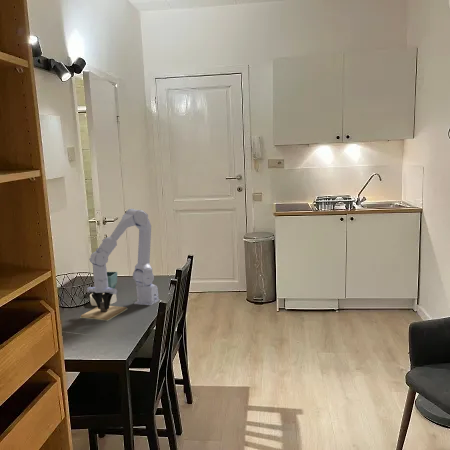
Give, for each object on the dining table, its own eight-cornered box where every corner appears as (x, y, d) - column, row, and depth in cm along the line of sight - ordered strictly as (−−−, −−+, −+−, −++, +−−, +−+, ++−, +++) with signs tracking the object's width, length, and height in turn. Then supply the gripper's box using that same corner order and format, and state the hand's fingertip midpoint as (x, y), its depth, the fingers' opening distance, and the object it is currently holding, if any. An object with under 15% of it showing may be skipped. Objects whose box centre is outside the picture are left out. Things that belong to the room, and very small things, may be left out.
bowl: (121, 299, 230) (120, 291, 229) (106, 307, 219) (105, 298, 218) (101, 297, 234) (100, 289, 234) (85, 305, 224) (84, 297, 223)
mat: (128, 309, 215) (128, 308, 215) (108, 321, 201) (108, 320, 201) (100, 306, 220) (100, 306, 220) (79, 318, 207) (79, 317, 207)
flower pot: (112, 293, 241) (110, 276, 239) (96, 293, 242) (94, 276, 241) (119, 288, 249) (117, 271, 248) (103, 288, 251) (102, 271, 249)
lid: (126, 308, 214) (125, 298, 214) (107, 319, 202) (106, 309, 201) (101, 306, 220) (99, 296, 219) (81, 317, 207) (79, 306, 206)
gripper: (81, 280, 207) (84, 310, 209) (109, 282, 202) (112, 313, 204) (91, 276, 214) (94, 305, 216) (118, 277, 208) (121, 307, 210)
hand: (103, 308), depth 210 cm, fingers closed on lid, 3 cm apart
